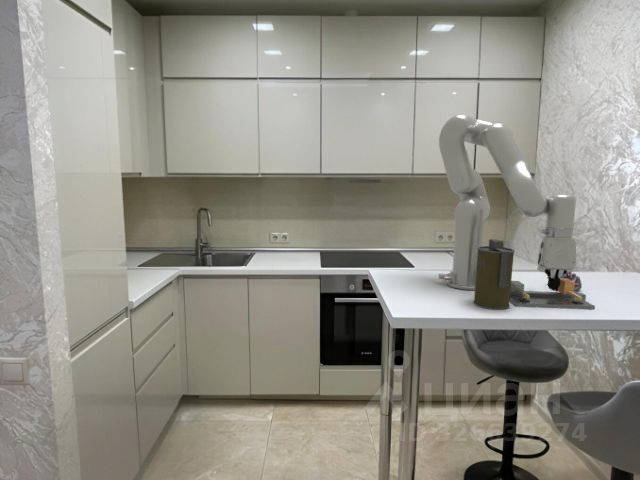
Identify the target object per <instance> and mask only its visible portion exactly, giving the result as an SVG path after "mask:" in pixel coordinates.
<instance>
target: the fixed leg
mask: <svg viewBox="0 0 640 480" xmlns="http://www.w3.org/2000/svg"><path fill="white" fill-rule="evenodd" d="M510 291H511V292H513V293H514V294H522V295H523V300H526V298H530V295H528V294H527V293H525V292H524V291H525V284H524V283H522V282H521V281H519V280H511V289H510Z"/></svg>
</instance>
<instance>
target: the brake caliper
mask: <svg viewBox="0 0 640 480" xmlns="http://www.w3.org/2000/svg"><path fill="white" fill-rule="evenodd" d="M555 271H556V269H554V273H555ZM548 277H549V276H547V275H546V279H548ZM562 278H563V279H569V280H571V281H573V282H575V287H574V293H578V292H579V291H581V289H582V286H583V285H582V281H581V277H580V276H579V275H577V274H576V273H575V272H570V273H566V274H565V275H563V276H562ZM546 286H548V283H547V284H546Z"/></svg>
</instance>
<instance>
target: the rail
mask: <svg viewBox="0 0 640 480" xmlns="http://www.w3.org/2000/svg"><path fill="white" fill-rule="evenodd" d="M524 292H525V293H527V294H528V295H530V298H534V299H562V300H574V297H573V296H571V295H569V294H562V293H561V292H559V291H536V290H524ZM574 293H575V294H577V295H579V296H581V297H582V300H584V301H586V299H587V295H586V294H585V293H583V292H574ZM510 298H523V295H522V294H514V293H513V292H511V291H510ZM578 300H579V299H578Z"/></svg>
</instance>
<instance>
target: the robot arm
mask: <svg viewBox="0 0 640 480" xmlns="http://www.w3.org/2000/svg"><path fill="white" fill-rule="evenodd" d="M465 143H469V144H472V145H476V146H481V147H483V148H486V149H487V151H488V153H489V155H490V156H491V157H492V160H493V161H494V163H495V165H496V167H497V169H498V170H499V172H500V175H501V176H502V179H503V181H504V183H505V185H506V187H507V189H508V191H509V193H510V195H511V197H512V199H513V201H514V202H515V204H516V206H517V208H518V209H519V211H520V212H521V213H522V214H523V215H524V216H526V217H528V218H536V217H540V216H542V215H543V216H545V215H546V222H545V228H543V229H541V230H540V233H541V234H544V236H543V237H542V239H541V242H540V246H539V250H538V254H537V255H538V256H537V265H538V266H537V268H536V269H537V270H538V271H539V272H542V273H544V274H545V275H546V277H547V276H549V277H548V278H547V284H548V285H547V288H548V290H549V289H550V290H551V291H555V292H559V291H558V287H559V286H560V278H562V276H563V275H565V274H566V273H570V272H572V273H574V269H575V268H576V265H577V246H576V243H577V242H576V238H574V237H573V232H574V223H575V213H576V204H577V198H576V196H575V195H573V194H565V193H564V194H563V193H557V194H555V193H554V194H548V193H542V192H540V189H539V188H538V187H537V184H536V183H535V181H534V179H533V177H532V175H531V173H530V169H529V165H528V164H529V163H528V161H527V159H526V156H525V155H524V153H523V152H522V150H521V148H520V147H519V145H518V143H517V141H516V140H515V137H514V134H513V130H512V129H511V128H510V127H509V126H508V125H507V124H505V123H502V122H488V121H484V120H482V119H477V118H474V117H472V116H471V115H468V114H464V113H459V114H454V115H453V116H452V117H450V118H449V119H448V120H447V121H446V122H445V123H444V125H443V126H442V128H441V130H440V132H439V137H438V147H439V152H440V154H441V158H442V162H443V166H444V169H445V170H444V171H445V173H446V177H447V180H448V184H449V188H450V190H451V191H452V192H453V193H454V194H455V195H458V198H459V200H460V201H459V202H458V204H457V205H456V207H455V209H454V243H453V256H452V257H453V259H452V270H451V271H450V272H449V273H439V274H438V280H444V281H446V283H447V286H449V287H450V288H454V289H459V290H466V291H475V283H476V271H477V259H478V249H477V248H478V247H481V246H484V245H483V244H484V232H485V231H484V222H485V220H486V219H488V217H489V215H490V213H491V204H490V201H489V197H488V194H487V191H486V188H485V185H484V181H483V178H482V176H481V174H480V172H478V171H477V170H475V168H473V167H472V164H471V162H470V158H469V154H468V151H467V148H466V146H465ZM554 269H556V271H555V273H554Z"/></svg>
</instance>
